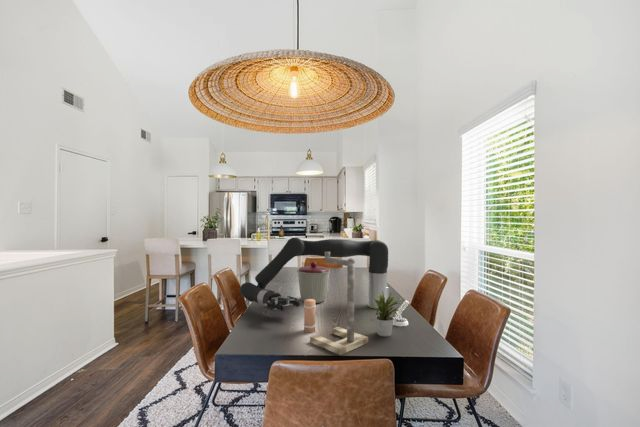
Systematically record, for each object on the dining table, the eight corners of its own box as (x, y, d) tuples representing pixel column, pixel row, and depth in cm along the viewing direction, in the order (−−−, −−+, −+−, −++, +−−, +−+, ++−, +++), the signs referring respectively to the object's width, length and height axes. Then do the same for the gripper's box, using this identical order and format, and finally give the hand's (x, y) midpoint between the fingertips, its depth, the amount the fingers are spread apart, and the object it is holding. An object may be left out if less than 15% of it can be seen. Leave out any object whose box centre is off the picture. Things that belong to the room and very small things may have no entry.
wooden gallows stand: (310, 342, 113) (310, 253, 113) (338, 331, 123) (338, 250, 124) (340, 355, 103) (340, 257, 103) (368, 342, 113) (368, 253, 113)
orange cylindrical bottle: (312, 328, 127) (312, 298, 127) (317, 331, 123) (317, 301, 123) (301, 330, 125) (302, 299, 125) (307, 333, 121) (307, 302, 121)
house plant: (396, 345, 111) (396, 299, 111) (360, 337, 118) (360, 293, 118) (407, 333, 123) (408, 291, 123) (374, 326, 130) (374, 286, 130)
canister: (336, 299, 171) (336, 261, 171) (318, 307, 156) (318, 265, 156) (309, 295, 181) (309, 258, 181) (289, 302, 165) (289, 262, 165)
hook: (422, 314, 130) (410, 305, 129) (404, 336, 131) (391, 327, 130) (415, 305, 137) (403, 297, 136) (398, 326, 139) (386, 318, 137)
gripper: (255, 292, 139) (278, 300, 127) (281, 288, 149) (304, 294, 137) (255, 309, 139) (277, 318, 127) (281, 303, 149) (304, 311, 137)
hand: (291, 306), depth 132 cm, fingers open, 8 cm apart
